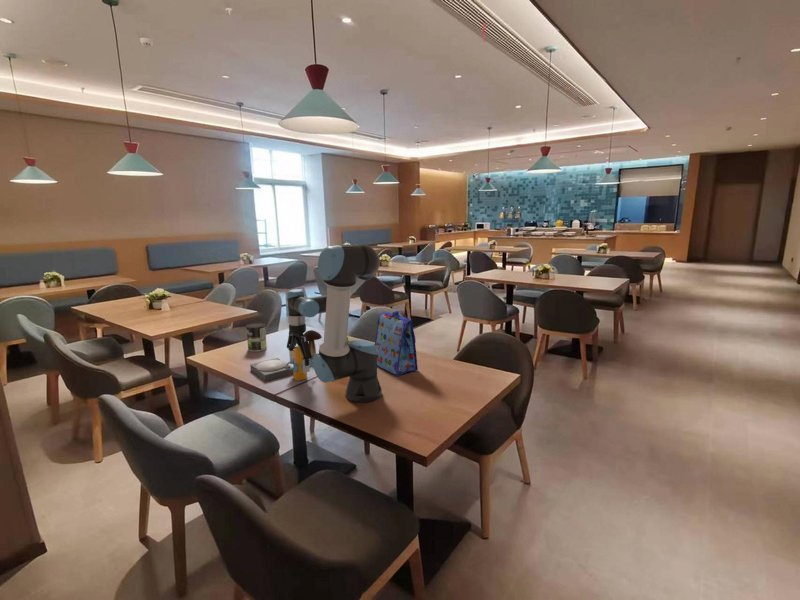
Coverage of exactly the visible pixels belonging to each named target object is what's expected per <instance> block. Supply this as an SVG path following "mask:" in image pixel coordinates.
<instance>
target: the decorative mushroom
mask: <svg viewBox="0 0 800 600" xmlns="http://www.w3.org/2000/svg"><path fill="white" fill-rule="evenodd" d="M303 335H304V337H306V336H307V339H308V344H309V348H310V352H311V356H312V358H313V356H314V355H315V354H317V350H316V342H315V341H318V340H320V339H322V338H323V336H322V335H321V334H320V333H319V332H318V331H316V330H313V329H311V330H306V332H304V333H303Z"/></svg>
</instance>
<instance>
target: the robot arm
mask: <svg viewBox="0 0 800 600" xmlns="http://www.w3.org/2000/svg"><path fill="white" fill-rule="evenodd" d="M380 264H381V262H380V256H379V254H378V253H377V250H376V249H374V248H373V247H372V246H370V245H367V244H364V243H362V244H361V243H360V244H359V243H358V244H343V245H342V244H341V245H338V244H335V245H331V246H330V245H329V246H327V247H324V248H323V250H321V252H320V254H319V256H318V260H317V270H318V274H319V277H320V278H321V279H322V280H323V283H324V284H325V285H326V287H327V288H326V294H325V295H319V296H312V297H306V294H305V291H304V290H303V289H300V288H299V289H297V288H295V289H290V290H287V293H286V297H287V298H286V300H287V301H286V302H287V317H288V319H287V320H288V324H289V325H288V338H287V342H286V343H287V344H286V349H288V351H289V352H288V353H289V362H292V360H293V359H294V358H295V355H294V347H296V346H299V347H300V350H301V352H302V355H303V373H306V372H307V373H308V372H309V373H310V369H311V368H309V366H310V361H309V359H312V362H313V365H312V367H313V370H314V373H315V375H316V376H317V378H318V379H319V380H320V381H321V383H322V382H323V383H325V384H326V383H330V382H335V381H337V380H341V379H344V378H348V381H347V385H346V388H345V398H346V399H347V400H349V401H351V402H355V403H369V402H373V401H376V400H378V399H379V398H381V396H382V386H381V384H380V380H379V379H378V366H377V348H376V345H375V342H372V341H368V340H363V339H362V340H361V339H355V340H354V339H353V340H350V341H348V344H347V338H348V327H349V319H350V307H351V306H350V305H351V297H352V295H353V294H354V293H355V292H356V291H357V290H358V289H359V288H360V287H361V286H362V285H363V284H364V283H365V282H366V281H369V280H371V279H372V278H373V277H374V276H375V275H376V274H377V272H378V271H379V269H380ZM323 313H325V318H324V333H323V335H324V336H323V343H321V344H320V345H319V349H318V353H316V354H315V355H314V356H313V357H312V356H311V352H310V348H309V344H308V342H309V341H308V339H307V336H306V337H304V335H303V334H304V333H305V332H307V324H306V322H307V321H306V320H307V319H306V318H314V317H316V316H317V315H318V314H323ZM294 363H295V360H294ZM289 365H293V364H292V363H290V364H289Z"/></svg>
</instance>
